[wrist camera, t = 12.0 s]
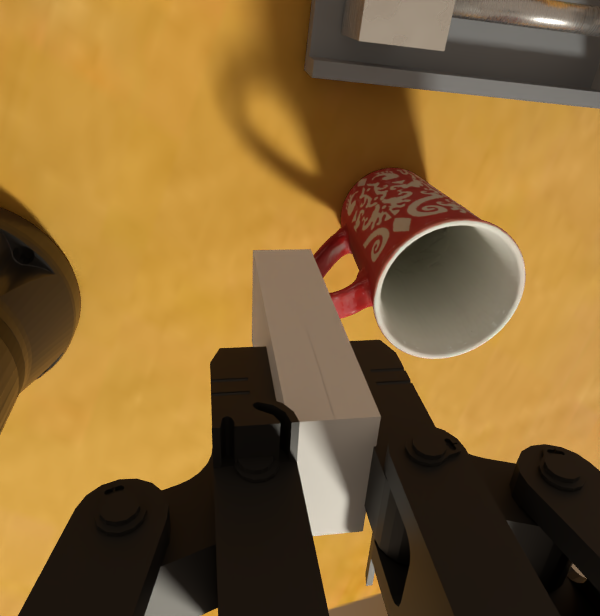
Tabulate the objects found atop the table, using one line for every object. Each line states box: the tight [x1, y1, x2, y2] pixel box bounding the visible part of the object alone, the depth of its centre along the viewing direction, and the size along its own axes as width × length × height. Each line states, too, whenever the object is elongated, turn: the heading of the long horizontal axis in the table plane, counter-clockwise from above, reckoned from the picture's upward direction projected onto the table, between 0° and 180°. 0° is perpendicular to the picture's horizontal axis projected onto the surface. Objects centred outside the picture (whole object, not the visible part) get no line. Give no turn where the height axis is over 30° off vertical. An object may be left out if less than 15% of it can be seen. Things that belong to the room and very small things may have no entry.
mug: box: [314, 168, 526, 359], centre depth 38 cm, size 13×9×14 cm
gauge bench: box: [304, 0, 600, 109], centre depth 33 cm, size 26×10×10 cm, turn 83°
